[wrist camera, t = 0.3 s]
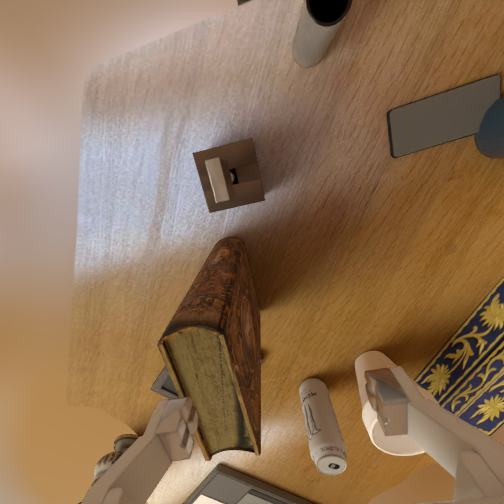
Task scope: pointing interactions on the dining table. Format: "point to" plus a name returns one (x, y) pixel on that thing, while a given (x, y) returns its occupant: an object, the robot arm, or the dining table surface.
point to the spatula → (221, 179)
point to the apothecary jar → (114, 454)
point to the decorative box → (472, 367)
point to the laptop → (238, 490)
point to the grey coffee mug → (492, 131)
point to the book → (219, 351)
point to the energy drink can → (322, 428)
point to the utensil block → (246, 170)
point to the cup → (387, 444)
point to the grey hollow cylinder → (317, 29)
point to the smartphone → (441, 116)
